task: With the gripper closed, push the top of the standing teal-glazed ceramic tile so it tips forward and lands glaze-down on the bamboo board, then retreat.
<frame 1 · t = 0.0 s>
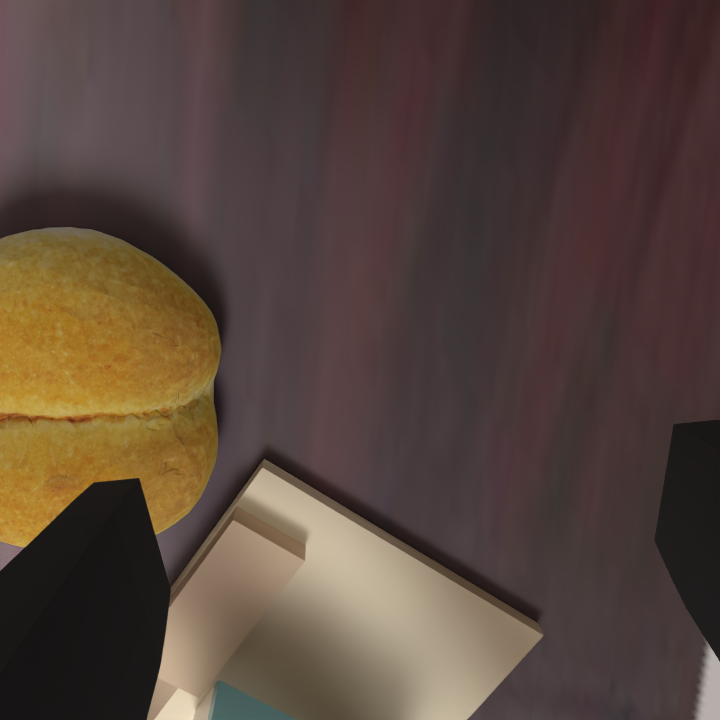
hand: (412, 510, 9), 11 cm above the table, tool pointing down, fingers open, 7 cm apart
board: (296, 683, 23), on the table
spatula: (186, 640, 21), point 1 cm above the table, touching board
bread roll: (91, 383, 20), on the table
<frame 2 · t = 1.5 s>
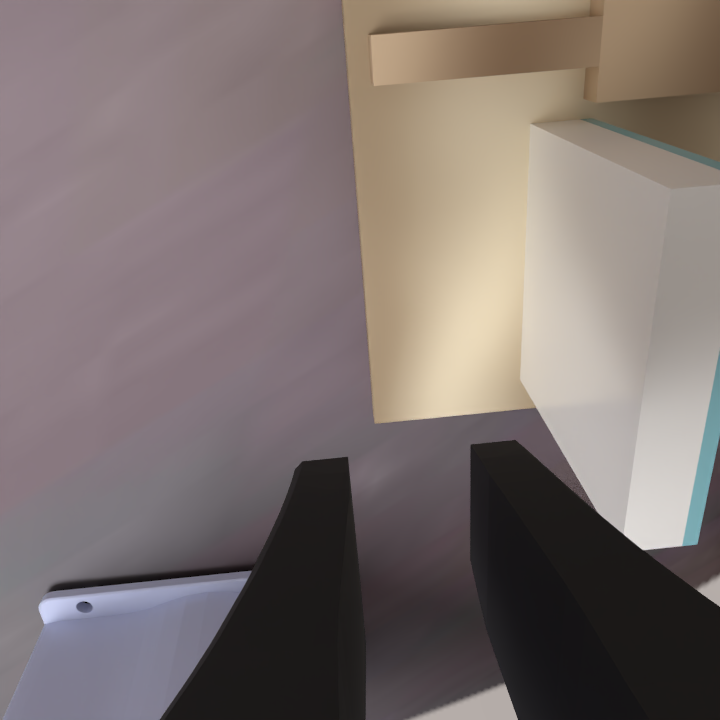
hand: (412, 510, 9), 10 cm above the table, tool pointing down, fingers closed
board: (603, 212, 18), on the table
spatula: (630, 36, 15), point 1 cm above the table, touching board
tile: (552, 260, 18), point 1 cm above the table, touching board
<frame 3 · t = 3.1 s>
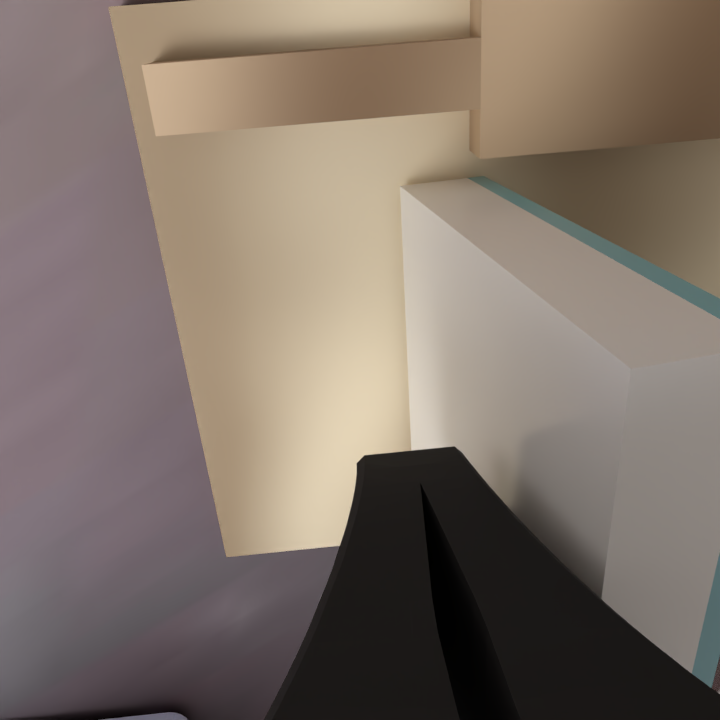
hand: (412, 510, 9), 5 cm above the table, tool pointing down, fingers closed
board: (512, 293, 13), on the table
spatula: (530, 65, 11), point 1 cm above the table, touching board
tile: (444, 361, 13), point 1 cm above the table, tilted 8°, touching board, gripper
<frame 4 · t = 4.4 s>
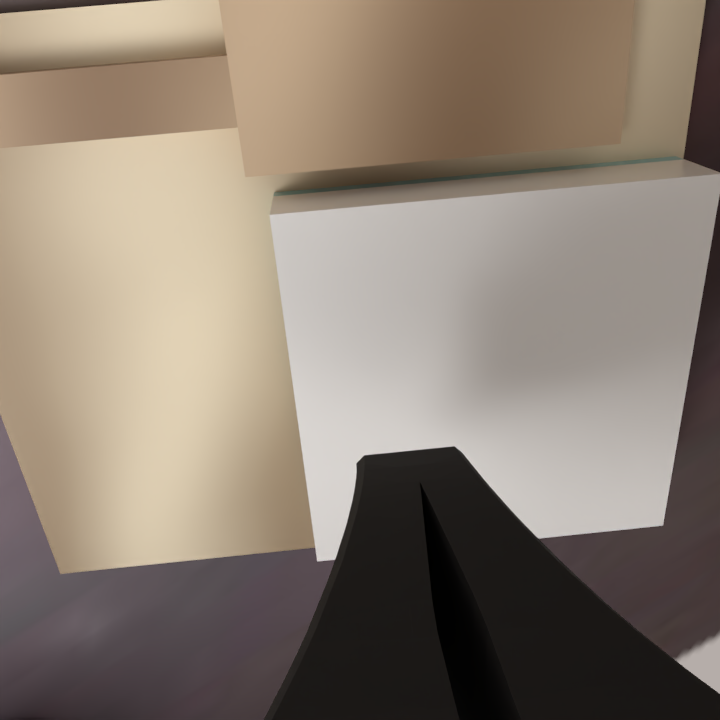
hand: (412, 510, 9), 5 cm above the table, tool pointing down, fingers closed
board: (325, 309, 13), on the table
spatula: (300, 82, 11), point 1 cm above the table, touching board
tile: (297, 390, 12), point 1 cm above the table, tilted 90°, touching board
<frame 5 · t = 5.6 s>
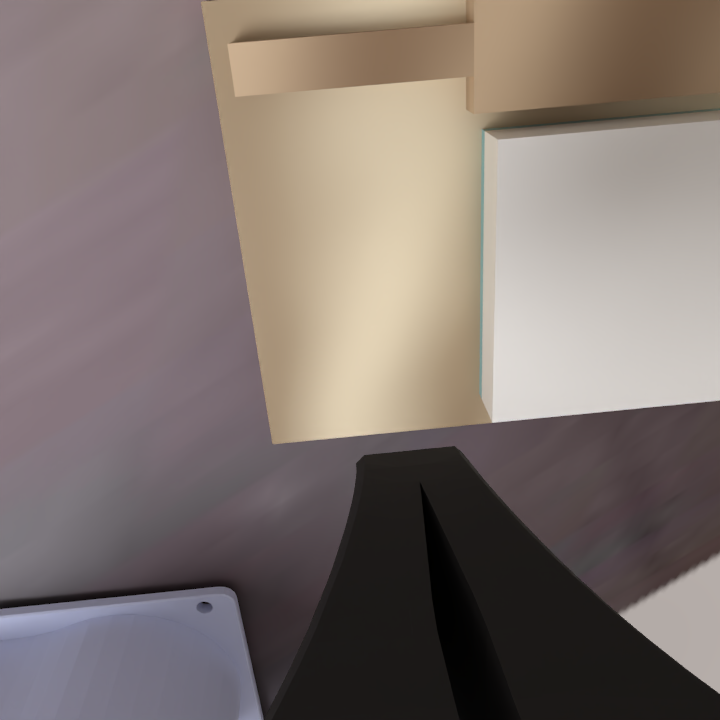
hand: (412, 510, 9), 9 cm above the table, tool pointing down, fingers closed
board: (500, 226, 17), on the table
spatula: (511, 44, 14), point 1 cm above the table, touching board
tile: (487, 284, 16), point 1 cm above the table, tilted 90°, touching board
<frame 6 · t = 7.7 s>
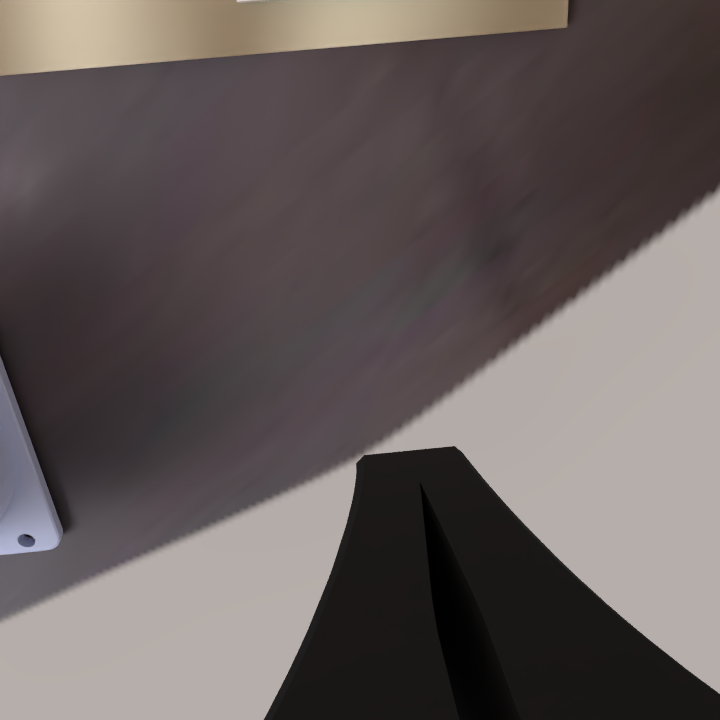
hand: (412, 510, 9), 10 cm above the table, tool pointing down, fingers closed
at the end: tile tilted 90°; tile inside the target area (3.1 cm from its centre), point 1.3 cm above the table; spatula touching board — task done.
